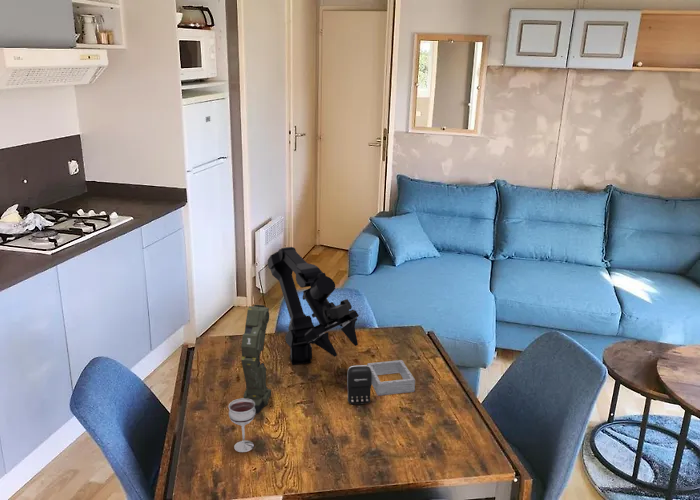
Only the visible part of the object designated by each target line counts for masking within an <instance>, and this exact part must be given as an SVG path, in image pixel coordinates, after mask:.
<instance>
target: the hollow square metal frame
mask: <svg viewBox="0 0 700 500" xmlns="http://www.w3.org/2000/svg"><path fill="white" fill-rule="evenodd" d="M366 365H368V366H369V367H370V368H371V372H372V385H371V386H372V387H373V390H374V391H375V393H376V395H377V396H389V395H396V394H406V393H413V392H415V391H416V389H415V388H416V387H415V386H416V379H415V377H414V376H413V374H412V373H411V371H410V370H409V369H408V367H407V365H406V364H405V363H404V360H402V359H399V360H397V359H396V360H388V361H379V362H378V361H376V362H368V363H366ZM391 374H400V376H401V378H402V379H395V380H388V381H387V380H385V381H381V380H380V378H379V376H382V375H391Z"/></svg>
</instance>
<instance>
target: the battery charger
mask: <svg viewBox="0 0 700 500" xmlns="http://www.w3.org/2000/svg"><path fill="white" fill-rule="evenodd" d="M346 377H347V382H346V383H347V402H348V404H350V405H366V404H367V405H368V404H370V403H371V391H372V386H373V385H372V372H371V368H370V367H369V366H368V365H367V364H355V365H350V366H349V367H348V369H347V376H346Z"/></svg>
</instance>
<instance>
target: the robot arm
mask: <svg viewBox="0 0 700 500" xmlns="http://www.w3.org/2000/svg"><path fill="white" fill-rule="evenodd" d="M267 266H268V269H269V271H270V273H271V275H272V277H274V278H275V279H276V280H277V281H278V282H279V285H280V288H281V292H282V295H283V298H284V302H285V304H286V305H285V306H286V309H287V312H288V315H289V319H290V320H289V324H288V327H287V328H288V329H287V333H286V335H285V336H284V337H285V339H284V340H285V343H286V344H287V345H288V346H289V349H290V354H289V359H290V362H291V365H301V364H311V363H312V358H313V347H312V345H315V346H317V347H319V348H321V349H323V350H324V351H326V352H327V353H328V354H330V355H331V356H333V357H334V358H335V357H337V356H338V353H337V351H336V349H335V347H334V346H333V344H332V342H331V340H330V337H329V331H330V330H333V329H335V328H338V326H340V327H341V331H342V333H343V334H344V335H345V336H346V337H347V338H348V340H349V341H350V342H351V343H352V344H353V346H355V347H357V346H358V345H359V342H358V338H357V333H356V326H355V325H356V322H357V321H358V318H359V317H360V315H359V314H358V312H357V310H355V309H353V308H352V307H353V306H352V304H351V302H350V301H349V299H343V300H340V302H339V303H340V304H338V305H335V303H334V302H332V301H331V302H330V301H329V300H328V298H329V297H330V296H331V295H332V294H333V292H334V291H335V289H336V282H335V281H334V280H333V279H332V278H331V277H330V276H327V275H326V272H324V271H322V270H321V269H320V267H319V266H317V265H316V264H314V263H313V264H312V263H308V262H307V261H306V260H305V259H304V258H303V257H302V256H301V255H300V253H298V252H297V250H296V248H295V247H293V246H288V247H281V248H279V250H278V251H276V252H274V253H273V254H271V255H270V256H269V258H268V259H267ZM293 272H294V274H295V280H294V277H293ZM295 281H296V284H297V285H298V286H299V287H300V288H301V289H303V288H306V289H305V290H303V291H302V294H303V295H302V300H303V301H306V303H307V304H308V307H309V308H310V310H311V311H312V314H311V315H306V314H305V313H304V310H303V309H304V308H303V306H302V303H301V300H300V297H299V293H298V290H297V287H296V284H295ZM313 318H316V320H317V321H318V323H319V324H318V325H316V326H315V325H314V323H313V320H312V319H313Z"/></svg>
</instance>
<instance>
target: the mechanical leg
mask: <svg viewBox="0 0 700 500" xmlns="http://www.w3.org/2000/svg"><path fill="white" fill-rule="evenodd" d="M269 311H270V308H269V307H267V306H266V307H265V304H264V305H263V304H254V305H253V306H252V305H249V306H248V308H247V311H246V318H245V326H244V333H243V334H242V338H241V346H240V347H241V349H240V350H241V359H240V361H241V365H242V371H243V376H244V380H245V381H244V382H245V390H244V392H243V395H242V398H247V399H251V400H253V401H254V402H255V406H254V407H255V409H256V415H257V414H259V413H261V411H262V410H263V408H265V406H268V404H269V399H270V397H271V396H272V389H270V388H269V389H268V387H267V384H266V382H267V368H266V366H265V363H264V362H261V359H260V358H261V353H262V351H264V346H265V345H264V344H265V339H266V331H267V327H268V323H269V322H270V312H269Z"/></svg>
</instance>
